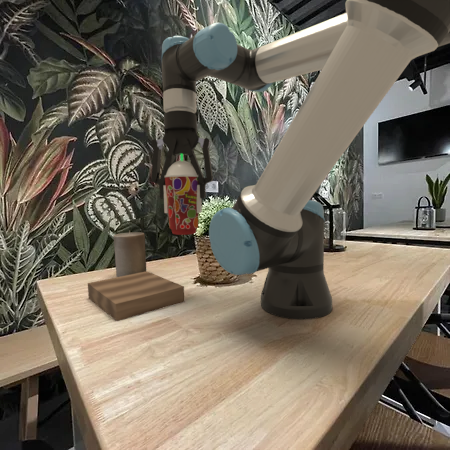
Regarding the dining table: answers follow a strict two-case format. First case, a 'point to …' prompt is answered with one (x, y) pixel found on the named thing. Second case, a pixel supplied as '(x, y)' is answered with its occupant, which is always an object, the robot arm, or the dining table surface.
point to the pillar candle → (130, 253)
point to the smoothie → (182, 197)
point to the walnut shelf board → (134, 294)
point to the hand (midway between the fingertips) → (183, 212)
